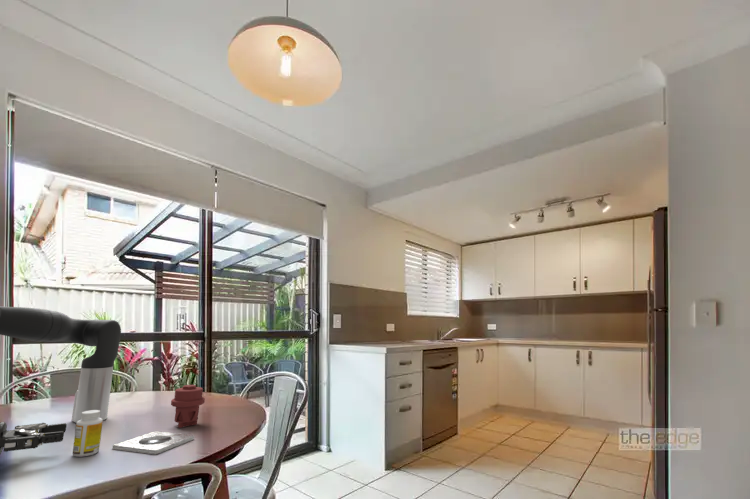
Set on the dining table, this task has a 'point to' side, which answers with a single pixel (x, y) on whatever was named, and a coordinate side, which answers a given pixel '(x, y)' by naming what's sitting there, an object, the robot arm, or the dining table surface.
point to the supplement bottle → (87, 434)
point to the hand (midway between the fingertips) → (64, 431)
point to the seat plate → (153, 442)
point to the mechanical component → (187, 404)
